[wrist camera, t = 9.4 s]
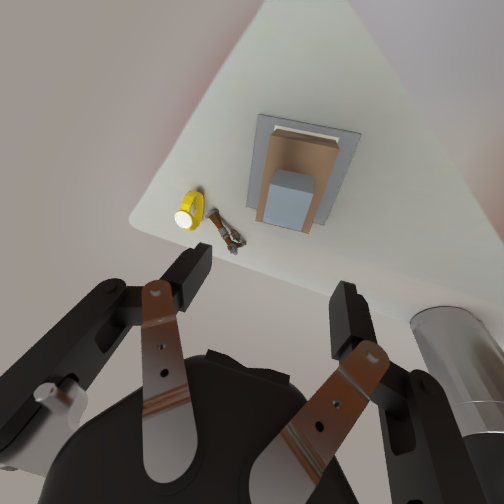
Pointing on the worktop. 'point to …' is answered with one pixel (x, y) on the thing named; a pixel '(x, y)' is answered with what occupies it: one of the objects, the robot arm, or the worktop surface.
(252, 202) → the build pad
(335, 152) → the walnut block
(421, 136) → the worktop surface
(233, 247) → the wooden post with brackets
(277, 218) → the gray block
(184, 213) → the watch
